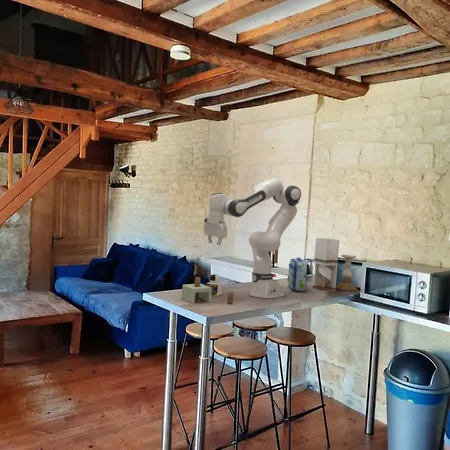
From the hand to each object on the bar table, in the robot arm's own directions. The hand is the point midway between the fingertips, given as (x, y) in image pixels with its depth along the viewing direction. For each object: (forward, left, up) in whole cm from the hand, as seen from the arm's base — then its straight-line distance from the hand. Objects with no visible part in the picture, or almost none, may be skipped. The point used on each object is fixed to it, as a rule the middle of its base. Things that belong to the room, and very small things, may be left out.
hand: (214, 244), depth 260 cm
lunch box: (-70, -3, -31) cm, 77 cm away
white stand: (-88, +5, -31) cm, 94 cm away
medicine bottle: (-5, -5, -31) cm, 32 cm away
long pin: (+13, +5, -31) cm, 34 cm away
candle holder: (-106, +9, -31) cm, 111 cm away
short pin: (-1, +18, -31) cm, 36 cm away
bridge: (+13, +5, -31) cm, 34 cm away
